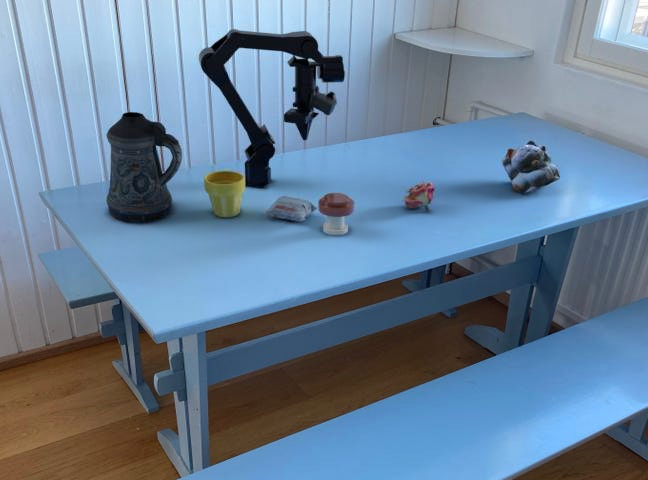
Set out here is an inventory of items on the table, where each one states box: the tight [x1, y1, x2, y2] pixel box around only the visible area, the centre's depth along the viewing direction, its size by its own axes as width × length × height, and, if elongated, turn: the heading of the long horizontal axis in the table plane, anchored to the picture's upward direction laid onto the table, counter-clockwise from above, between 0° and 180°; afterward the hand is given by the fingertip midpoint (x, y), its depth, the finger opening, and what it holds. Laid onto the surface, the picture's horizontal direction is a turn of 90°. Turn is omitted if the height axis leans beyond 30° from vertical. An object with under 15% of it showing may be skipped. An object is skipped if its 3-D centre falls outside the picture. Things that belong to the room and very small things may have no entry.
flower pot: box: [203, 169, 246, 218], centre depth 191 cm, size 10×10×10 cm
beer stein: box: [105, 111, 183, 224], centre depth 186 cm, size 16×19×25 cm
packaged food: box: [262, 195, 318, 222], centre depth 192 cm, size 9×12×5 cm
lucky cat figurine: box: [501, 140, 561, 195], centre depth 216 cm, size 15×12×14 cm
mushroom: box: [317, 192, 355, 236], centre depth 186 cm, size 9×9×9 cm
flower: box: [401, 180, 435, 212], centre depth 199 cm, size 10×9×8 cm
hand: (305, 140), depth 208 cm, fingers closed
